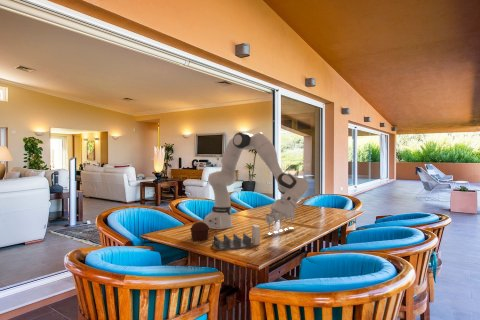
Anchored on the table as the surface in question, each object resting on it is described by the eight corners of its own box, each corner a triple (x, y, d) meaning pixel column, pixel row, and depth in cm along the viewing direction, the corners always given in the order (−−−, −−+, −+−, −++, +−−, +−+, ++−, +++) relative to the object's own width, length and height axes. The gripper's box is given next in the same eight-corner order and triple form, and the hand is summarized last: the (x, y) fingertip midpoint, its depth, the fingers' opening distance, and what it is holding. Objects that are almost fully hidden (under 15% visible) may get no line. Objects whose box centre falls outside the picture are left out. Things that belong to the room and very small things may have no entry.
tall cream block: (255, 244, 173) (255, 227, 173) (251, 242, 178) (252, 225, 178) (260, 244, 174) (260, 226, 174) (256, 242, 179) (256, 224, 179)
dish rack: (218, 250, 162) (218, 241, 162) (212, 243, 176) (212, 234, 176) (252, 247, 168) (252, 238, 168) (244, 240, 181) (244, 232, 181)
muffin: (191, 237, 190) (191, 220, 190) (209, 236, 191) (209, 220, 191) (189, 242, 178) (189, 224, 178) (208, 242, 179) (208, 224, 179)
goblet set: (270, 234, 196) (270, 213, 196) (263, 233, 200) (263, 212, 200) (296, 228, 215) (297, 208, 215) (290, 226, 219) (290, 207, 219)
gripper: (277, 194, 191) (262, 211, 188) (293, 199, 172) (276, 217, 169) (284, 201, 193) (269, 218, 190) (300, 206, 173) (284, 225, 170)
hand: (272, 218), depth 179 cm, fingers open, 8 cm apart
